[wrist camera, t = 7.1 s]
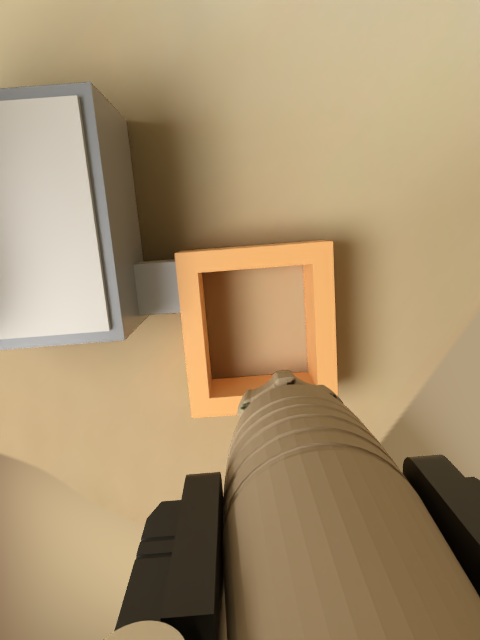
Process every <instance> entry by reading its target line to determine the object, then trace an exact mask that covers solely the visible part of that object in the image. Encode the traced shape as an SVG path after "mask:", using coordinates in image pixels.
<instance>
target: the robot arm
mask: <svg viewBox="0 0 480 640" xmlns="http://www.w3.org/2000/svg"><path fill="white" fill-rule="evenodd" d="M403 475H404V476H405V477H406V479H407V480H408V482H409V483H410V484H411V486H412V487H413V489H414V490H415V491H416V492H417V494H418V495H419V497H420V499H421V500H422V502H423V504H424V505H425V507H426V509H427V510H428V512H429V514H430V515H431V517H432V519H433V520H434V522H435V524H436V525H437V527H438V529H439V530H440V532H441V534H442V535H443V537H444V539H445V540H446V542H447V544H448V545H449V547H450V549H451V550H452V552H453V554H454V555H455V557H456V559H457V560H458V562H459V564H460V565H461V567H462V569H463V570H464V572H465V574H466V575H467V577H468V579H469V580H470V582H471V584H472V585H473V587H474V589H475V590H476V592H477V594H478V595H479V597H480V480H478V479H477V478H475V477H466V478H465V477H464V476H463V475H462V474H461V473H460V472H459V471H458V469H457V468H456V467H455V466H454V465H453V464H452V463H451V462H450V461H449V460H448V459H447V458H446V457H445V456H443V455H431V456H418V457H407V458H406V459H405V460H404V463H403ZM222 526H223V489H222V479H221V473H220V472H215V473H202V474H190V475H186V478H185V483H184V489H183V495H182V500H176V501H164V502H161V503H160V504H159V505H158V507H157V508H156V509H155V510H154V511H153V512H152V513H151V515H150V516H149V517H148V518H147V520H146V524H145V527H144V531H143V535H142V538H141V542H140V545H139V548H138V551H137V558H136V560H135V562H134V565H133V569H132V573H131V576H130V579H129V583H128V586H127V590H126V593H125V596H124V600H123V604H122V607H121V610H120V614H119V617H118V621H117V624H116V628H115V631H114V632H113V633H111V634H110V635H108V636H107V637H106V638H105V639H104V640H227V627H226V611H225V594H224V577H223V560H222V537H223V532H222Z"/></svg>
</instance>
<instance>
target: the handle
mask: <svg viewBox="0 0 480 640" xmlns="http://www.w3.org/2000/svg"><path fill="white" fill-rule="evenodd" d="M237 414H238V416H239V417H240V419H239V422H238V424H237V426H236V429H235V431H234V434H233V438H232V441H231V446H230V450H229V454H228V461H227V469H226V476H225V485H224V497H223V526H222V532H223V537H222V560H223V577H224V594H225V611H226V627H227V640H480V597H479V595H478V594H477V592H476V590H475V589H474V587H473V585H472V584H471V582H470V580H469V579H468V577H467V575H466V574H465V572H464V570H463V569H462V567H461V565H460V564H459V562H458V560H457V559H456V557H455V555H454V554H453V552H452V550H451V549H450V547H449V545H448V544H447V542H446V540H445V539H444V537H443V535H442V534H441V532H440V530H439V529H438V527H437V525H436V524H435V522H434V520H433V519H432V517H431V515H430V514H429V512H428V510H427V509H426V507H425V505H424V504H423V502H422V500H421V499H420V497H419V495H418V494H417V492H416V491H415V490H414V489H413V487H412V486H411V484H410V483H409V482H408V480H407V479H406V477H405V476H404V475H403V473H402V472H401V471H400V470H399V468H398V467H397V465H396V464H395V463H394V461H393V460H392V459H391V457H390V456H389V455H388V454H387V452H386V451H385V449H384V448H383V447H382V446H381V444H380V443H379V442H378V441H377V439H376V438H375V437H374V436H373V435H372V434H371V433H370V432H369V430H368V429H367V428H366V427H365V426H364V424H363V423H362V422H361V421H360V420H359V419H358V418H357V417H356V416H355V415H354V414H353V413H352V412H351V411H350V410H349V409H348V408H347V407H346V406H345V405H344V404H343V402H342V401H341V400H340V398H339V397H338V396H337V395H336V394H335V393H334V392H333V391H332V390H330V389H329V388H328V387H326V386H325V385H312V384H309V383H306V382H304V381H302V380H300V379H299V378H297V377H296V376H295V375H294V374H293V373H292V372H291V371H289V370H281V371H276V372H275V373H274V375H273V377H272V378H271V379H270V380H269V381H268V382H267V383H266V384H264V385H263V386H261V387H259V388H256V389H253V390H252V389H250V390H247V391H246V392H245V394H244V395H243V397H242V399H241V401H240V403H239V406H238V411H237Z"/></svg>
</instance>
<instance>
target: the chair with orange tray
mask: <svg viewBox="0 0 480 640" xmlns="http://www.w3.org/2000/svg"><path fill="white" fill-rule="evenodd" d="M174 254H175V259H170V260H157V261H144V262H143V254H142V246H141V237H140V229H139V220H138V212H137V203H136V195H135V186H134V178H133V169H132V161H131V153H130V144H129V136H128V127H127V121H126V120H125V119H124V117H123V116H122V115H121V114H120V113H119V112H118V111H117V110H116V109H115V108H114V107H113V106H112V104H111V103H110V102H109V101H108V100H107V99H106V98H105V97H104V96H103V95H102V94H101V93H100V91H99V90H98V89H97V88H96V87H95V86H94V85H93V84H92V83H91V82H83V83H69V84H56V85H42V86H28V87H15V88H1V89H0V350H7V349H20V348H33V347H45V346H58V345H71V344H84V343H97V342H109V341H122V340H125V339H126V338H127V337H128V336H129V335H130V334H131V333H132V332H133V331H134V330H135V329H136V328H137V327H138V326H139V325H140V324H141V323H142V322H143V321H144V320H145V319H146V318H147V317H148V316H149V315H155V314H168V313H181V321H182V331H183V340H184V350H185V360H186V369H187V379H188V389H189V398H190V408H191V418H202V417H215V416H227V415H238V414H237V411H238V406H239V403H240V401H241V399H242V397H243V395H244V394H245V392H246V391H247V390H250V389H252V390H253V389H256V388H259V387H261V386H263V385H264V384H266V383H267V382H268V381H269V380H270V379H271V378H272V377H273V375H274V374H271V375H258V376H246V377H233V378H220V379H212V376H211V365H210V354H209V343H208V332H207V322H206V311H205V300H204V289H203V278H202V272H215V271H228V270H241V269H254V268H267V267H280V266H293V265H303V276H304V298H305V320H306V341H307V363H308V372H296V373H293V374H294V375H295V376H296V377H297V378H299V379H300V380H302V381H304V382H306V383H309V384H312V385H325V386H326V387H328V388H329V389H330V390H332V391H333V392H334V393H335V394H336V395H337V396H338V382H337V351H336V320H335V288H334V257H333V241H326V240H315V241H302V242H289V243H276V244H263V245H250V246H237V247H224V248H211V249H198V250H184V251H179V252H177V253H174Z"/></svg>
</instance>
